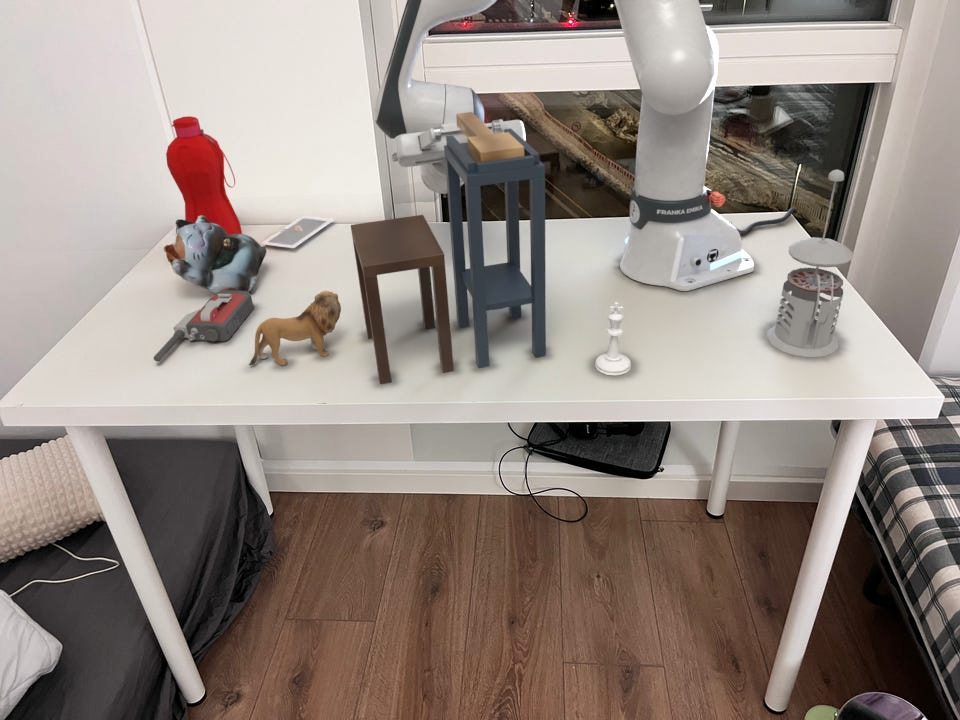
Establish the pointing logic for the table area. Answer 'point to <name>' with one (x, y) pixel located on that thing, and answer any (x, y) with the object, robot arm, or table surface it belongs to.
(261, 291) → the table surface
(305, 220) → the touchpad
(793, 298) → the french press
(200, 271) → the lucky cat figurine
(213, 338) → the walkie-talkie
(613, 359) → the chess piece
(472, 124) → the crossed tan timber pieces
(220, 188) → the water bottle
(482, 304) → the tall stand
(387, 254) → the low stand
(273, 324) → the lion figurine
